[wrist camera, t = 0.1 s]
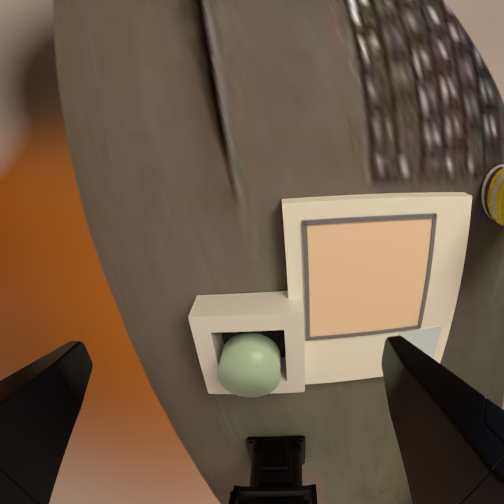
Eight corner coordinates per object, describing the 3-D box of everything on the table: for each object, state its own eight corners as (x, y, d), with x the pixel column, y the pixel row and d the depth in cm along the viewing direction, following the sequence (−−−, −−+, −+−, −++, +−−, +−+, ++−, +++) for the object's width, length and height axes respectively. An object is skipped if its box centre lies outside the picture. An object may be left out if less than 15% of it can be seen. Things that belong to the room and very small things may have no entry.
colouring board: (434, 358, 26) (439, 368, 25) (292, 375, 28) (292, 386, 26) (464, 192, 20) (473, 196, 19) (281, 199, 22) (282, 204, 20)
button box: (303, 367, 27) (304, 391, 24) (214, 370, 28) (208, 393, 25) (301, 289, 24) (303, 311, 21) (197, 295, 25) (188, 316, 22)
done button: (281, 374, 24) (281, 396, 22) (226, 376, 25) (222, 397, 23) (278, 331, 23) (278, 353, 20) (218, 333, 23) (212, 354, 21)
